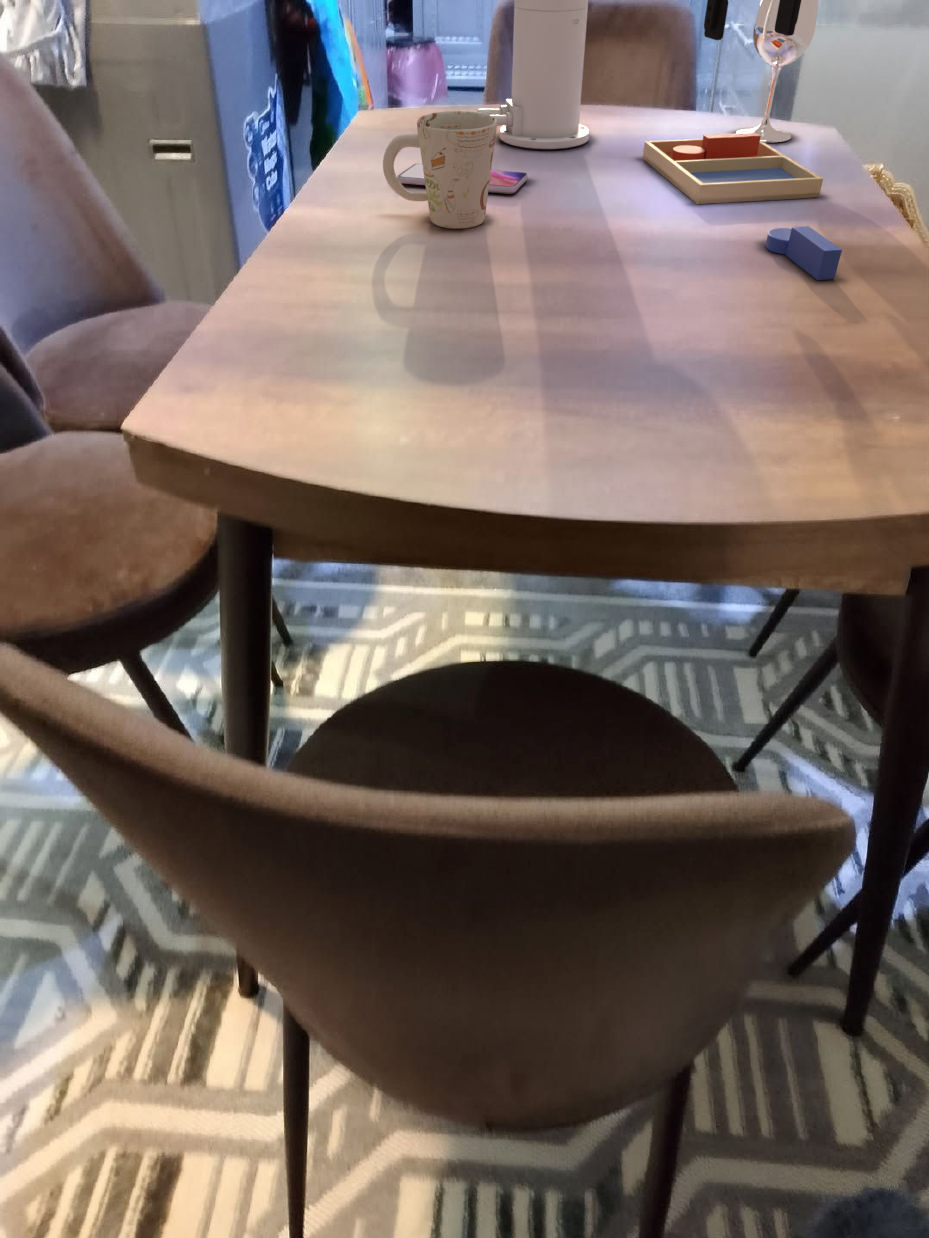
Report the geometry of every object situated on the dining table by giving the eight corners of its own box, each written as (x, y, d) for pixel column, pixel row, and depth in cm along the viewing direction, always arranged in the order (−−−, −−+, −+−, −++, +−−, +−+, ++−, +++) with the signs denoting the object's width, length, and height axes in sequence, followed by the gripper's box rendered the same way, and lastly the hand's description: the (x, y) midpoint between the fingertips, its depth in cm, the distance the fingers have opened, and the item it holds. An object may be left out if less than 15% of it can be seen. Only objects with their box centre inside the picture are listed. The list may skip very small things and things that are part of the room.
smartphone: (414, 162, 115) (529, 172, 112) (415, 170, 116) (529, 180, 113) (394, 177, 110) (514, 187, 107) (395, 184, 111) (514, 195, 107)
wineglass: (757, 146, 125) (792, -32, 112) (723, 133, 131) (752, -38, 117) (803, 140, 127) (842, -35, 114) (768, 127, 133) (801, -41, 120)
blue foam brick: (845, 278, 88) (853, 249, 86) (806, 281, 87) (813, 251, 86) (794, 240, 96) (800, 213, 94) (758, 243, 96) (764, 215, 94)
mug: (487, 235, 97) (489, 132, 91) (374, 227, 99) (368, 126, 93) (500, 211, 104) (503, 113, 97) (394, 204, 105) (389, 107, 99)
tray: (697, 204, 106) (700, 185, 104) (642, 158, 120) (644, 141, 119) (819, 197, 108) (823, 178, 106) (750, 153, 122) (753, 136, 121)
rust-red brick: (747, 154, 119) (751, 130, 117) (759, 162, 116) (764, 138, 114) (667, 158, 118) (670, 134, 116) (677, 166, 115) (681, 142, 113)
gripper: (828, -153, 102) (792, 27, 113) (692, -152, 98) (668, 35, 109) (871, -152, 97) (829, 37, 108) (729, -151, 92) (700, 45, 104)
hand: (748, 36), depth 108 cm, fingers open, 9 cm apart
